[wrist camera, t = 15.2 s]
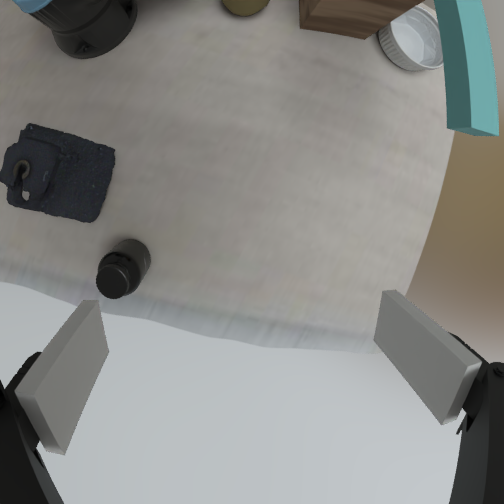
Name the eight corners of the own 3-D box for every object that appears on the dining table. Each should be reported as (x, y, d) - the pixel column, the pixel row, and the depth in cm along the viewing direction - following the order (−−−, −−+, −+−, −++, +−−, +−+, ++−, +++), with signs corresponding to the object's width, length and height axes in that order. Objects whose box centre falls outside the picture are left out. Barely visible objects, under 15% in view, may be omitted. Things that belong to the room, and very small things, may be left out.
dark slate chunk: (98, 235, 50) (88, 242, 46) (4, 200, 46) (-10, 204, 41) (123, 147, 47) (114, 146, 42) (22, 120, 42) (8, 118, 38)
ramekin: (377, 4, 43) (394, -9, 36) (431, 34, 45) (451, 25, 38) (367, 58, 46) (386, 47, 39) (425, 86, 48) (447, 81, 42)
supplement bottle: (159, 264, 52) (145, 293, 41) (127, 283, 53) (108, 315, 41) (137, 230, 50) (116, 250, 39) (106, 250, 51) (79, 275, 39)
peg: (477, 137, 21) (506, 138, 18) (438, 126, 21) (467, 125, 17) (444, -59, 15) (462, -71, 11) (404, -77, 14) (421, -92, 11)
